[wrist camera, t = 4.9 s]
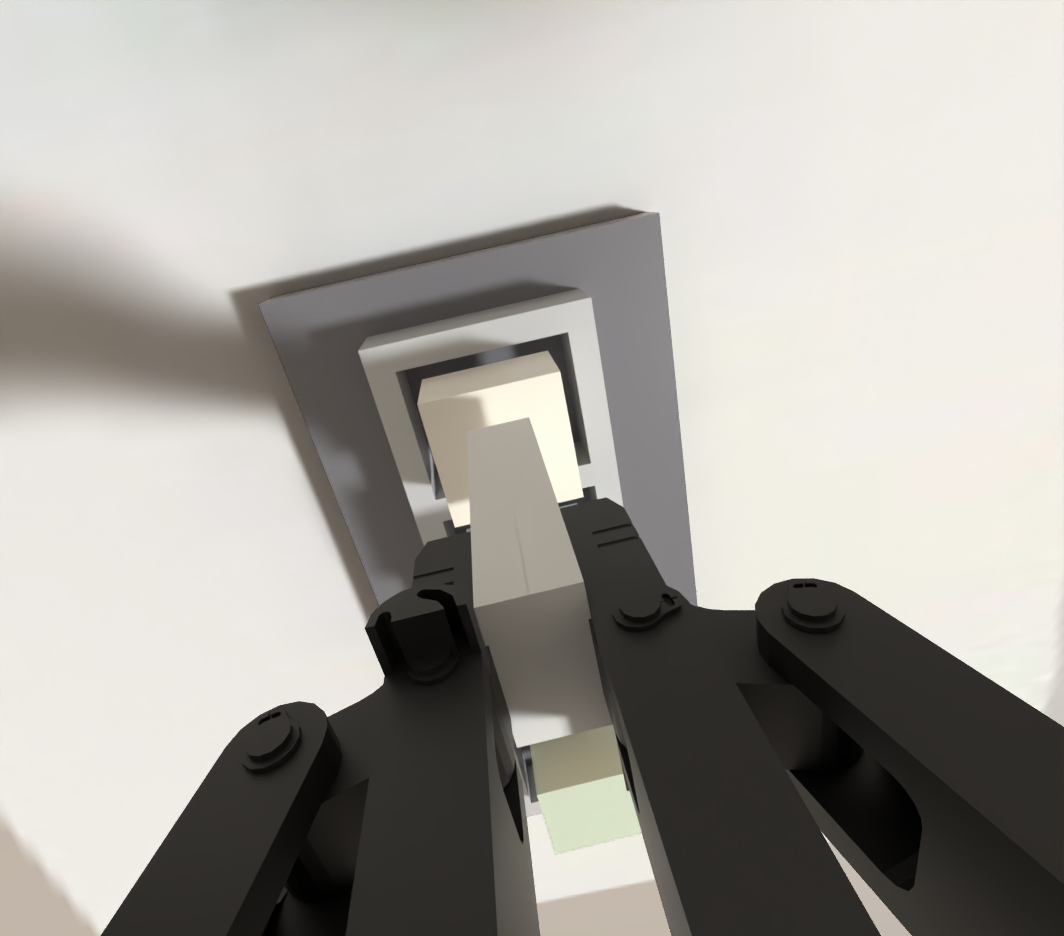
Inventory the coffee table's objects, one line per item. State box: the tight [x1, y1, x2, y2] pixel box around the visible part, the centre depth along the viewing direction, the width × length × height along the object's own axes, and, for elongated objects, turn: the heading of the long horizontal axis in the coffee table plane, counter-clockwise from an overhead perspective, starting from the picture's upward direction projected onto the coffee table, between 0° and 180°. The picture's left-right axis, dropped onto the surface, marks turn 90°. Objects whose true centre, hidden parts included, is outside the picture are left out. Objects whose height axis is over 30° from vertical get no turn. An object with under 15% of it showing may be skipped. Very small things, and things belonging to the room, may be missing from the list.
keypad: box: [258, 212, 697, 817], centre depth 22 cm, size 24×12×3 cm, turn 12°
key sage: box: [530, 725, 642, 855], centre depth 22 cm, size 4×4×2 cm
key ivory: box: [417, 350, 584, 527], centre depth 16 cm, size 4×4×2 cm
